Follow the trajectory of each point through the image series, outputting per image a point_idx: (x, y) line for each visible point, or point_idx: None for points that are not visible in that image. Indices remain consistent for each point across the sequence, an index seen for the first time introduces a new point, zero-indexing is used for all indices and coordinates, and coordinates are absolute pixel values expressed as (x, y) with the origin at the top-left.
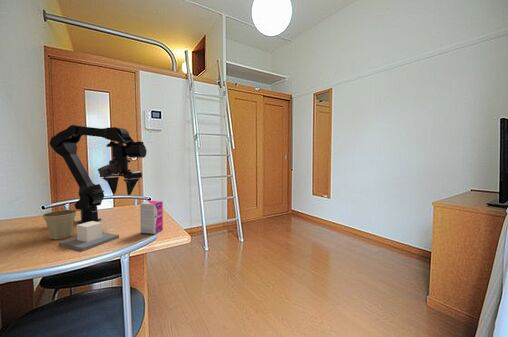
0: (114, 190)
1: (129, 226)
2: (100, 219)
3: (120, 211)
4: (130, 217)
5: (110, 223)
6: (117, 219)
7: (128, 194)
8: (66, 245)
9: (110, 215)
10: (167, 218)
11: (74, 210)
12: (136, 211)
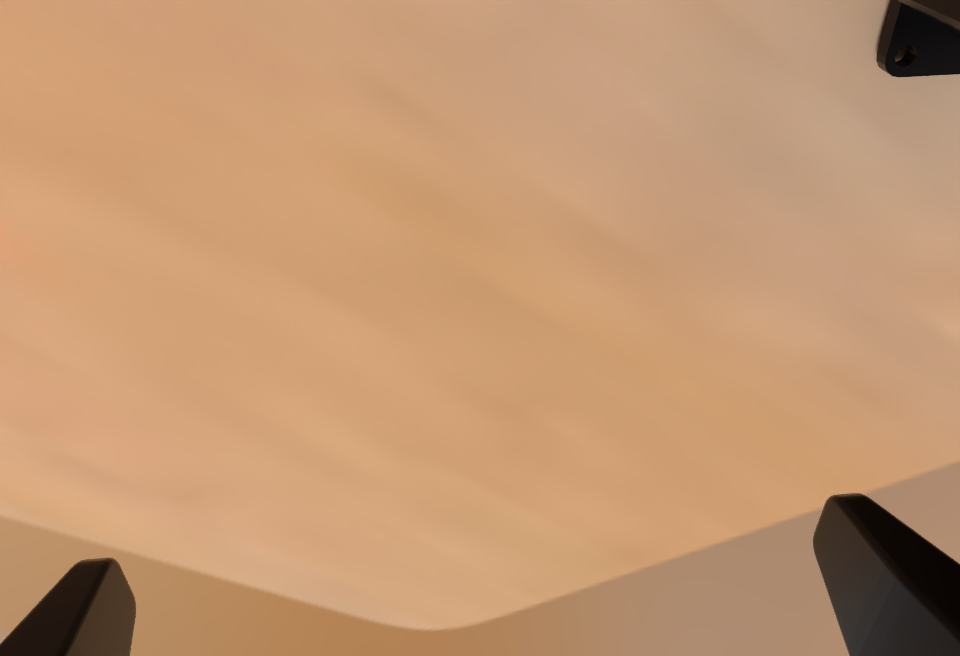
0: (867, 612)
1: (60, 38)
2: (882, 50)
3: (928, 449)
4: (543, 347)
5: (550, 8)
6: (642, 207)
7: (65, 577)
8: None
9: (927, 288)
10: (30, 510)
11: None
12: (712, 523)
